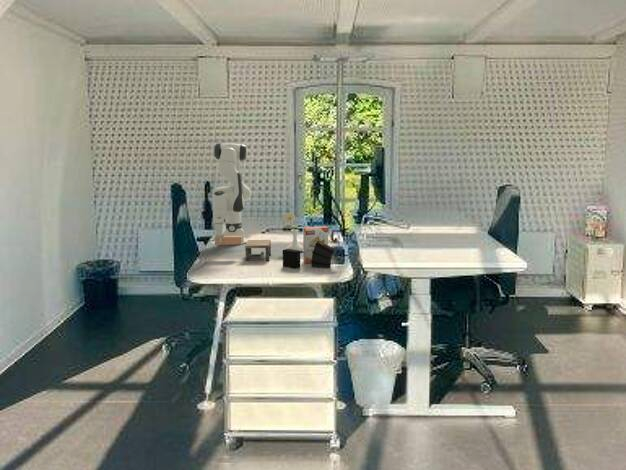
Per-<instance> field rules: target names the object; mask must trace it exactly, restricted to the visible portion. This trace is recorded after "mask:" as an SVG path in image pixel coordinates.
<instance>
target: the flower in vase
mask: <svg viewBox="0 0 626 470" xmlns="http://www.w3.org/2000/svg"><path fill="white" fill-rule="evenodd" d="M282 219H283V221H284V222H285V223H288V224H287V225H285V226H284V228H285V229H290V228H292V229H290V231H291V233H292V242H291V243H290V244H289V245H288V246H286V248H285V249H293V250H299V251H300V252H302V251H303V244H301V243H299V242H298V237H297V236H298V233H299V231H300V230H299V229H295V228H298V227H299V224H296V225H294V226H292V222H294V221H295V220H296V215H295V213H293V212H289V213H288V212H287V213H286V214H285V215H284V216H283V218H282Z"/></svg>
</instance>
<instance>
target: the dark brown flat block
mask: <svg viewBox="0 0 626 470" xmlns="http://www.w3.org/2000/svg"><path fill="white" fill-rule="evenodd" d="M335 250H336V249H335V248H333V247H331V246H330V245H329V244H328V245H326V244H324V243H322V242H320V241H317V243H316V244H315V247H314V251H313V252H312V253H313V255H312V261H311V263H310V264H311V266H310V267H311V268H317V269H319V268H321V269H330V268H331V266H332V259H333V255H334V253H335V252H336V251H335Z"/></svg>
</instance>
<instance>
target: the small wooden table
mask: <svg viewBox="0 0 626 470" xmlns="http://www.w3.org/2000/svg"><path fill="white" fill-rule="evenodd" d="M271 242H272V241H271V239H248V240H247V243H245V245H244V249H245V262H249V261H255V260H256V261H257V260H260V261H261V260H264V257H265V261H266V262H269V261H270V256H271V255H272V250H271V248H272V247H271V246H272V244H271ZM252 249H265V251H261V252H260V253H252Z"/></svg>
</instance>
